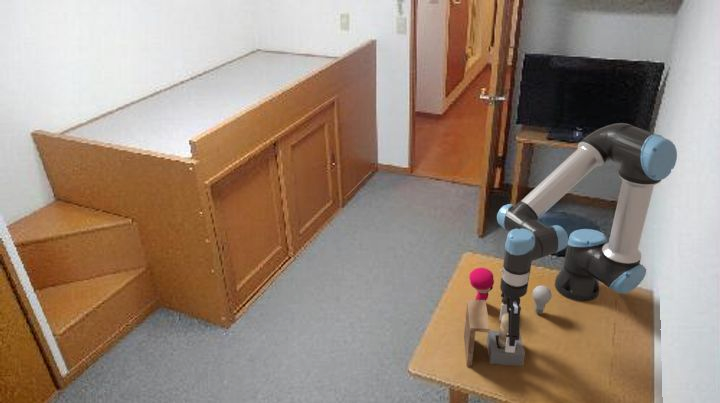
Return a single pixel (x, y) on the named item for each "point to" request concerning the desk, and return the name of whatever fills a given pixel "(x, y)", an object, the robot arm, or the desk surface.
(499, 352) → the socket
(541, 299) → the lightbulb
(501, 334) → the peg
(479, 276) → the toy
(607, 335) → the desk surface
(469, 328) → the wooden lipped block
